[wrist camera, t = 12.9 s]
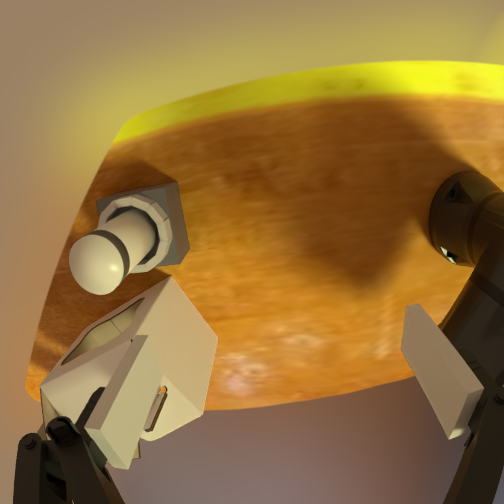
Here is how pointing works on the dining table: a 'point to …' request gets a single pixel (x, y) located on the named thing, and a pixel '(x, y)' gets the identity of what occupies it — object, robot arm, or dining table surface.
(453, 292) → the dining table surface
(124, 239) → the beige rounded cylinder
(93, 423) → the robot arm
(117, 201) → the grey socket block
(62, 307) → the dining table surface
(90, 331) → the gable box
